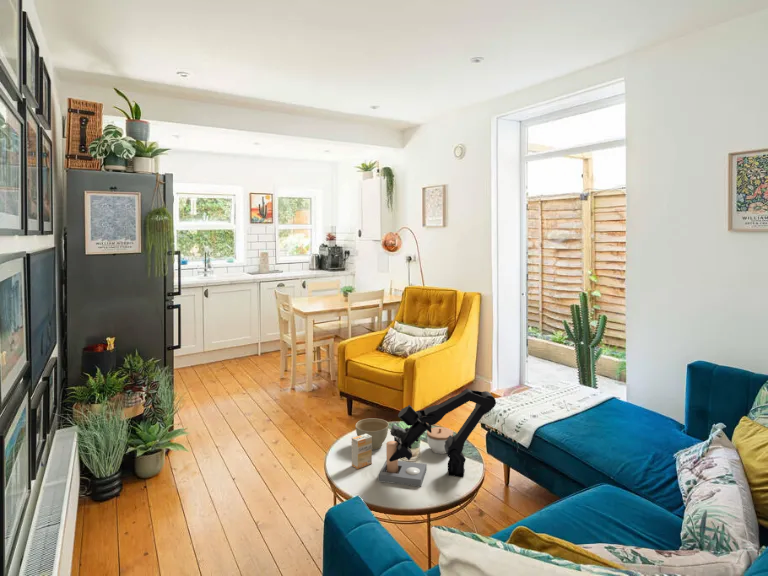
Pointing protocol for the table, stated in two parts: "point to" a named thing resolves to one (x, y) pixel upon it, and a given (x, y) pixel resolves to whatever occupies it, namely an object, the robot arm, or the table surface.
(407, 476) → the plate
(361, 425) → the planter bowl
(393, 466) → the cylinder
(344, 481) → the table surface
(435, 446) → the lidded bowl
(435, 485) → the table surface
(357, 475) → the table surface
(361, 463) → the supplement box
